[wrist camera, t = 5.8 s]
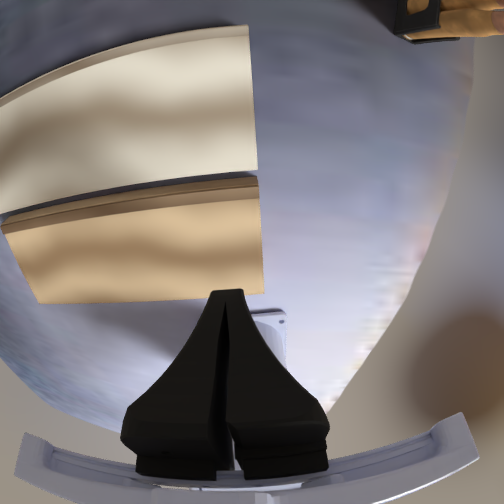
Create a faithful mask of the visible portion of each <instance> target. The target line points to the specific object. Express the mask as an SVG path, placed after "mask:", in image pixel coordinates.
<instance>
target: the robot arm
mask: <svg viewBox="0 0 504 504" xmlns="http://www.w3.org/2000/svg"><path fill="white" fill-rule="evenodd" d="M280 320H282V321H280ZM286 335H287V315H286V313H285V312H272V313H261V314H250V311H249V309H248V306H247V303H246V300H245V296H244V290H243V289H241V288H237V289H225V290H213V291H212V292H211V293H210V296H209V298H208V301H207V304H206V306H205V308H204V311H203V313H202V315H201V317H200V319H199V321H198V323H197V325H196V327H195V329H194V330H193V332H192V334H191V336H190V337H189V339H188V341H187V342H186V344H185V345H184V347H183V349H182V350H181V351H180V353H179V354H178V356H177V357H176V358H175V360H174V361H173V362H172V364H171V365H170V366H169V367H168V369H167V370H166V371H165V372H164V373H163V374H162V376H161V377H160V378H159V379H158V380H157V381H156V382H155V383H154V384H153V385H152V386H151V387H150V388H149V389H148V390H147V391H146V392H145V393H144V394H143V395H142V396H140V397H139V398H138V399H137V400H136V401H135V402H133V403H132V404H131V405H130V406H129V407H128V408H127V411H126V414H125V417H124V420H123V425H122V430H121V436H120V439H121V441H122V443H123V444H124V445H125V446H126V447H128V448H129V449H130V450H132V451H133V452H134V453H135V454H137V460H136V465H132V464H126V463H120V462H115V461H109V460H104V459H100V458H95V457H90V456H86V455H82V454H79V453H75V452H71V451H68V450H64V449H61V448H57V447H54V446H53V445H52V444H50V443H49V442H48V441H46V440H44V439H42V438H40V437H37V436H34V435H31V434H28V433H24V436H23V439H22V443H21V447H20V451H19V455H18V459H17V463H16V468H15V472H14V475H15V476H16V477H18V478H20V479H22V480H24V481H26V482H28V483H30V484H32V485H34V486H36V487H38V488H40V489H42V490H45V491H47V492H49V493H52V494H54V495H56V496H59V497H62V498H64V499H67V500H70V501H73V502H75V503H78V504H383V503H386V502H389V501H392V500H395V499H398V498H400V497H403V496H405V495H408V494H411V493H413V492H415V491H418V490H420V489H422V488H425V487H427V486H429V485H431V484H434V483H436V482H438V481H440V480H442V479H444V478H446V477H448V476H450V475H452V474H454V473H456V472H457V471H459V470H461V469H463V468H465V467H466V466H468V465H470V464H471V463H473V462H475V461H476V460H478V459H479V454H478V451H477V448H476V446H475V443H474V440H473V437H472V435H471V433H470V430H469V427H468V425H467V422H466V420H465V418H464V415H463V413H462V412H459V413H457V414H455V415H453V416H451V417H448V418H446V419H444V420H442V421H440V422H438V423H437V424H435V425H434V426H433V427H432V428H431V430H429V431H427V432H424V433H421V434H419V435H416V436H413V437H411V438H408V439H405V440H402V441H399V442H396V443H393V444H390V445H387V446H383V447H380V448H377V449H373V450H369V451H366V452H362V453H358V454H354V455H350V456H345V457H341V458H336V459H331V460H328V458H327V453H326V449H327V445H326V440H325V438H326V436H327V434H328V432H329V430H330V425H329V422H328V419H327V416H326V414H325V412H324V410H323V408H322V407H321V405H320V403H319V402H318V400H317V399H316V398H315V397H314V396H312V395H311V394H310V393H309V392H308V391H307V390H306V389H305V388H303V387H302V386H301V385H300V384H299V383H298V382H297V381H296V380H295V379H294V378H293V376H292V375H291V374H290V373H289V372H288V371H287V366H286ZM153 484H156V485H153ZM158 485H165V486H176V487H188V488H189V490H182V489H169V488H161V487H160V486H158Z"/></svg>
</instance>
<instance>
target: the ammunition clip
mask: <svg viewBox="0 0 504 504" xmlns="http://www.w3.org/2000/svg"><path fill="white" fill-rule="evenodd" d="M501 8H504V0H398V7H397V14H396V21H395V27H394V34H395V35H396V36H398V37H400V38H402V39H404V40H406V41H408V42H410V43H412V44H414V45H415V44H423V43H431V42H441V41H456V40H460V37H486V36H490V35H504V11H490V10H493V9H501Z"/></svg>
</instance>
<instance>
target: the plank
mask: <svg viewBox="0 0 504 504" xmlns="http://www.w3.org/2000/svg"><path fill="white" fill-rule="evenodd" d="M248 170H258V167H257V151H256V134H255V119H254V103H253V88H252V74H251V60H250V46H249V30H248V25H237V26H224V27H215V28H206V29H198V30H192V31H185V32H179V33H174V34H169V35H164V36H159V37H154V38H150V39H145V40H141V41H137V42H134V43H130V44H126V45H123V46H119V47H116V48H113V49H109V50H106V51H103V52H100V53H97V54H94V55H91V56H89V57H86V58H83V59H80V60H78V61H75V62H73V63H70V64H68V65H65V66H63V67H61V68H58V69H56V70H54V71H51V72H49V73H47V74H45V75H43V76H41V77H39V78H37V79H35V80H32V81H31V82H29V83H27V84H25V85H23V86H21V87H19V88H17V89H15V90H14V91H12V92H10V93H8V94H7V95H5V96H3V97H2V98H0V214H2V213H5V212H9V211H12V210H16V209H20V208H23V207H27V206H31V205H35V204H39V203H43V202H47V201H52V200H56V199H60V198H65V197H69V196H74V195H79V194H83V193H88V192H93V191H98V190H104V189H109V188H115V187H120V186H126V185H132V184H138V183H145V182H151V181H158V180H165V179H173V178H180V177H188V176H197V175H206V174H215V173H225V172H236V171H248Z"/></svg>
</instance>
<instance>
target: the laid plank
mask: <svg viewBox="0 0 504 504" xmlns="http://www.w3.org/2000/svg"><path fill="white" fill-rule="evenodd" d="M0 227H1V230H2V232H3V234H5V236H6V238H7V240H8V243H9V245H10V247H11V249H12V252H13V254H14V256H15V258H16V260H17V262H18V264H19V266H20V268H21V270H22V272H23V274H24V276H25V278H26V280H27V282H28V284H29V286H30V288H31V290H32V291H33V293H34V295H35V297H36V299H37V300H38V302H39V304H81V303H120V302H145V301H166V300H184V299H200V298H209V296H210V293H211V292H212V291H213V290H225V289H237V288H241V289H243V290H244V295H253V294H264V276H263V257H262V238H261V220H260V203H259V185H258V180H257V176H256V177H243V178H232V179H221V180H211V181H202V182H193V183H185V184H177V185H169V186H161V187H154V188H147V189H141V190H134V191H128V192H122V193H116V194H110V195H104V196H99V197H94V198H88V199H83V200H78V201H73V202H68V203H64V204H59V205H54V206H50V207H45V208H41V209H37V210H33V211H28V212H24V213H20V214H17V215H13V216H10V217H9V218H7V219H6V220H5V221H4V222H3V223H2V224H1V226H0Z"/></svg>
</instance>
